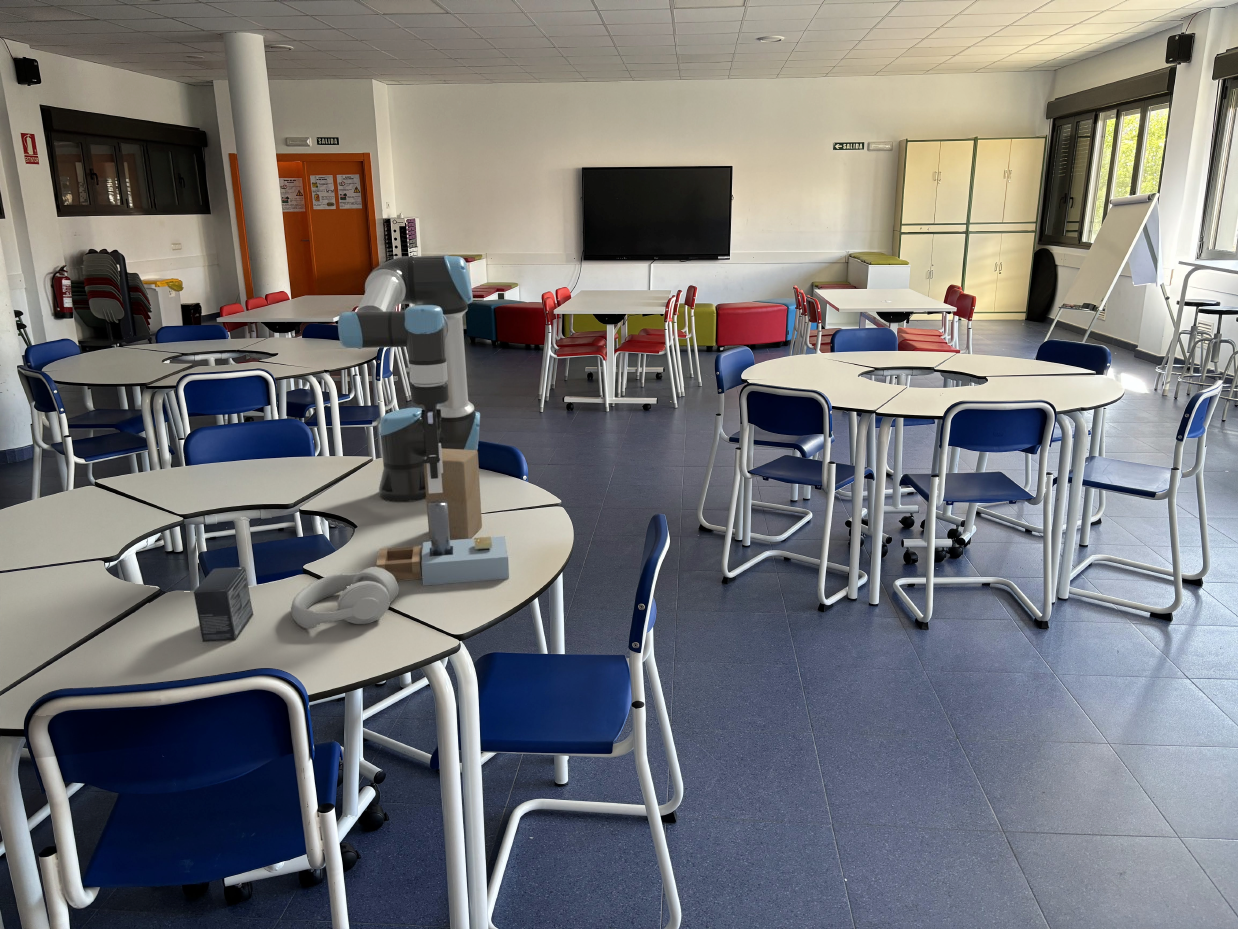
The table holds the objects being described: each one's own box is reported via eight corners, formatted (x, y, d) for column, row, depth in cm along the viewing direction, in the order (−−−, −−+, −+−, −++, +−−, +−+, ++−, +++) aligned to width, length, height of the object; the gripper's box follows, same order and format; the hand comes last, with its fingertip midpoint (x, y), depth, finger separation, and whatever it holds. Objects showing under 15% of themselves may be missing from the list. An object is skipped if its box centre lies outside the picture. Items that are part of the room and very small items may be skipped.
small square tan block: (475, 561, 191) (474, 537, 189) (492, 560, 192) (490, 536, 190) (476, 568, 188) (474, 544, 186) (492, 567, 188) (491, 542, 187)
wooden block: (468, 542, 205) (463, 461, 199) (428, 539, 207) (422, 459, 201) (482, 527, 214) (478, 449, 208) (444, 524, 216) (439, 447, 210)
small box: (220, 616, 169) (212, 567, 166) (254, 614, 170) (247, 565, 167) (199, 642, 159) (191, 590, 156) (236, 641, 160) (228, 589, 157)
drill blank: (433, 569, 190) (428, 500, 185) (452, 568, 191) (447, 499, 186) (433, 577, 186) (427, 507, 182) (452, 575, 187) (447, 505, 182)
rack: (381, 565, 192) (379, 548, 191) (422, 562, 194) (421, 545, 193) (378, 582, 184) (376, 565, 183) (421, 578, 185) (419, 561, 184)
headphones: (411, 589, 179) (318, 600, 181) (402, 555, 177) (309, 566, 179) (384, 632, 162) (281, 644, 163) (374, 594, 159) (270, 606, 161)
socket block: (424, 563, 193) (423, 542, 192) (505, 556, 197) (504, 536, 195) (423, 585, 182) (421, 563, 181) (509, 578, 185) (508, 556, 184)
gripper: (412, 372, 187) (419, 466, 193) (407, 396, 164) (415, 502, 170) (447, 370, 188) (454, 464, 195) (447, 394, 165) (454, 500, 171)
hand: (436, 482), depth 182 cm, fingers open, 13 cm apart
